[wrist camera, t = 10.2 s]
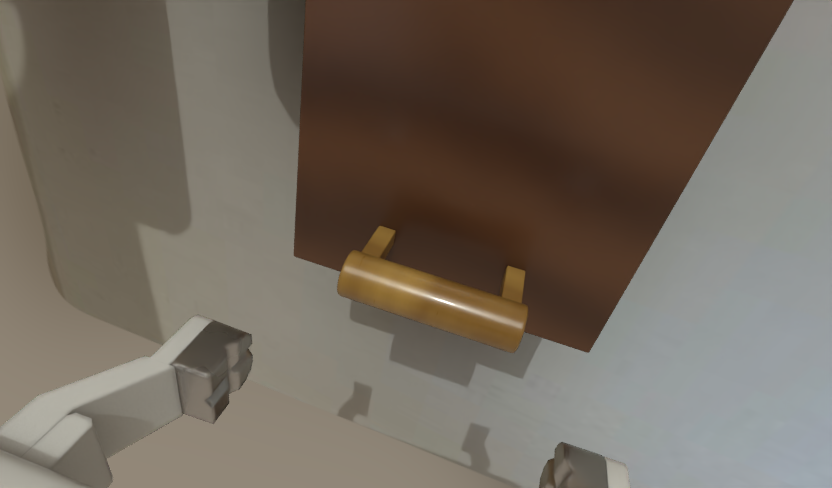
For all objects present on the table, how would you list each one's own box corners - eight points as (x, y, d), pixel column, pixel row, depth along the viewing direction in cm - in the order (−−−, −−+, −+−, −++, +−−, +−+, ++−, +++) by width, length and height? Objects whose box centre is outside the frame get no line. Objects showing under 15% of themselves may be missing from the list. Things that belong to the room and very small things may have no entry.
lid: (588, 340, 19) (593, 431, 15) (301, 247, 20) (244, 310, 17) (833, -92, 11) (967, -114, 7) (326, -195, 12) (228, -256, 9)
